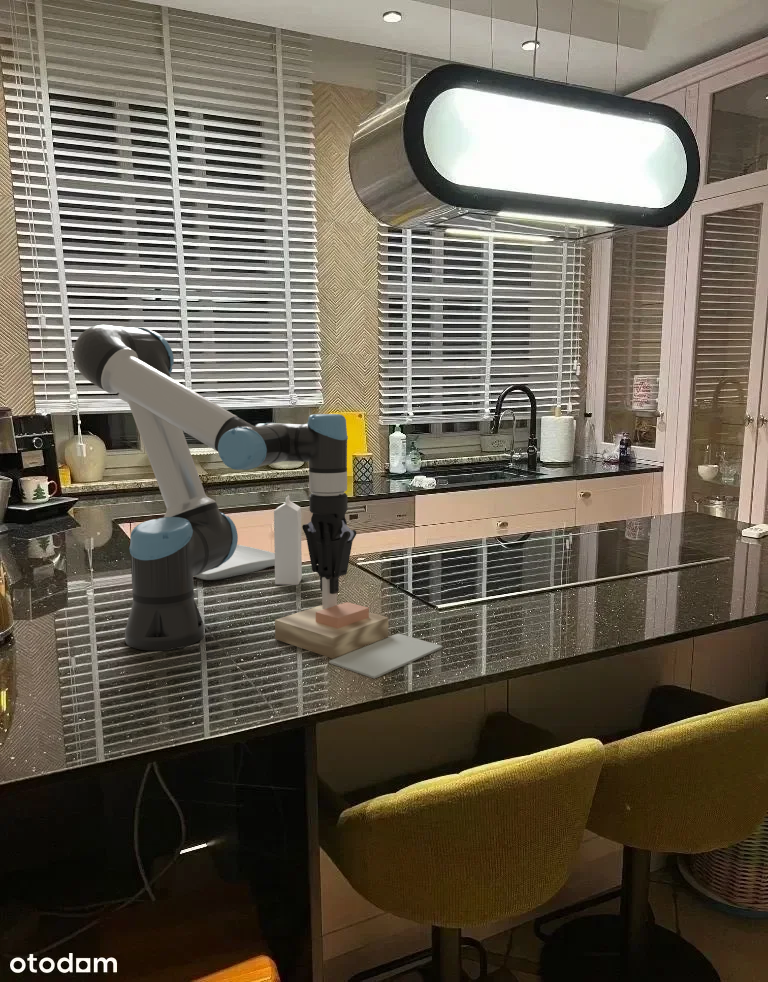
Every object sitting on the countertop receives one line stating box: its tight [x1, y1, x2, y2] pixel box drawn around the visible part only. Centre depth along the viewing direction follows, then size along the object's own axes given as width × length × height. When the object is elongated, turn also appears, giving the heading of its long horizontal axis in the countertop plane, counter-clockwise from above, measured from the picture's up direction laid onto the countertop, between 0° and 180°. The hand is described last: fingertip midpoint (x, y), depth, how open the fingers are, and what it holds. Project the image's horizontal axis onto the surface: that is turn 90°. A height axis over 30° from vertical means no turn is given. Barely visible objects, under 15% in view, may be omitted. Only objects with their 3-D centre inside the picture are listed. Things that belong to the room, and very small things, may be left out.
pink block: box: [316, 601, 370, 628], centre depth 149 cm, size 9×6×2 cm, turn 140°
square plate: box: [193, 544, 275, 581], centre depth 206 cm, size 27×27×4 cm
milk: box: [273, 494, 303, 586], centre depth 191 cm, size 6×6×22 cm
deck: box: [274, 603, 389, 660], centre depth 150 cm, size 16×16×4 cm
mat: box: [328, 633, 443, 680], centre depth 141 cm, size 20×11×1 cm, turn 140°
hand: (329, 608), depth 152 cm, fingers closed
